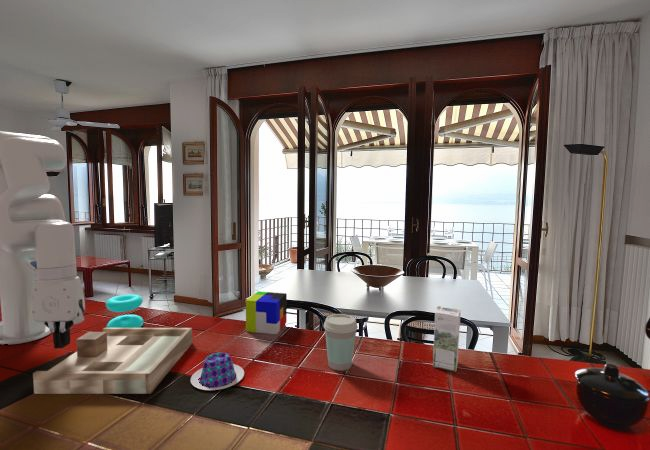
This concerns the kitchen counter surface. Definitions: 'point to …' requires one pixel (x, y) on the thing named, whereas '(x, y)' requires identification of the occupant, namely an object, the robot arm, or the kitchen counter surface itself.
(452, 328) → the syrup box
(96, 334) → the walnut block
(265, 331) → the puzzle toy
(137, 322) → the donuts
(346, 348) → the coffee cup
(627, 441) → the kitchen counter surface
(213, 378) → the pudding
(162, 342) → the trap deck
